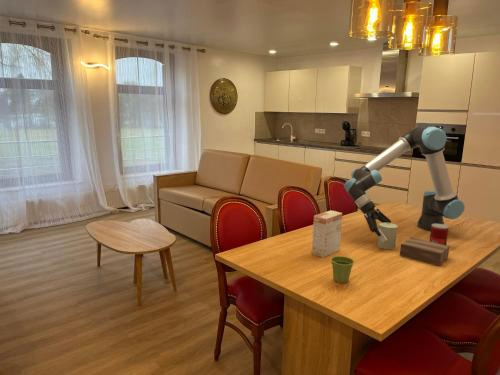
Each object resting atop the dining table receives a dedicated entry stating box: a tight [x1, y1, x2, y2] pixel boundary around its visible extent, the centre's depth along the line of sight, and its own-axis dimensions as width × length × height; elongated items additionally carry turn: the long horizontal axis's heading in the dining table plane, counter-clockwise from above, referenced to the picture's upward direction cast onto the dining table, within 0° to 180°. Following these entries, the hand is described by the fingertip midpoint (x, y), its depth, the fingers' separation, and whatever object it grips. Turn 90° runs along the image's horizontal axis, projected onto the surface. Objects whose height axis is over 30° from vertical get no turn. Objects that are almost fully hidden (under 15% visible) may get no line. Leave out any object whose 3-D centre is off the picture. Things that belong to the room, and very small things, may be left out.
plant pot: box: [330, 255, 355, 284], centre depth 152 cm, size 9×9×9 cm
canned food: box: [429, 223, 449, 245], centre depth 195 cm, size 8×8×11 cm
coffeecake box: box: [311, 210, 343, 258], centre depth 182 cm, size 15×7×20 cm, turn 134°
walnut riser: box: [399, 236, 450, 267], centre depth 180 cm, size 14×18×6 cm
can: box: [376, 222, 399, 250], centre depth 193 cm, size 9×9×12 cm
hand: (390, 238), depth 192 cm, fingers open, 13 cm apart
